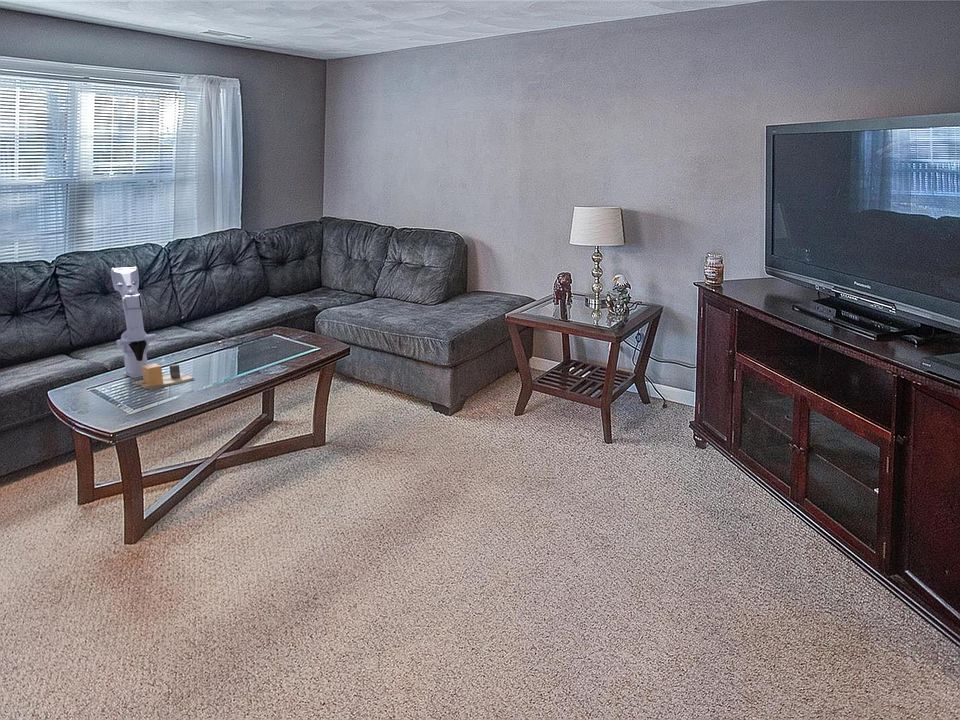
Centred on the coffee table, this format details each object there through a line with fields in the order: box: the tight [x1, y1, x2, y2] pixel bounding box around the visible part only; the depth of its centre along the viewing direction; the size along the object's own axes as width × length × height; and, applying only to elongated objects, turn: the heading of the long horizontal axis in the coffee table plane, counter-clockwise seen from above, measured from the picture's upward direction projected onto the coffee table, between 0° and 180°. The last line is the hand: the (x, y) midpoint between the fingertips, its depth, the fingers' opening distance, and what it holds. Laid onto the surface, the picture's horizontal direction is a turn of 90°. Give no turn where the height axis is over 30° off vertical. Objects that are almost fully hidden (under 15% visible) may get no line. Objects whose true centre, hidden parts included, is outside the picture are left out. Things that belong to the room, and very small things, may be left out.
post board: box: [134, 363, 195, 391], centre depth 289 cm, size 12×18×6 cm, turn 139°
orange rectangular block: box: [142, 363, 163, 385], centre depth 286 cm, size 5×5×7 cm
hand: (139, 360), depth 285 cm, fingers closed
